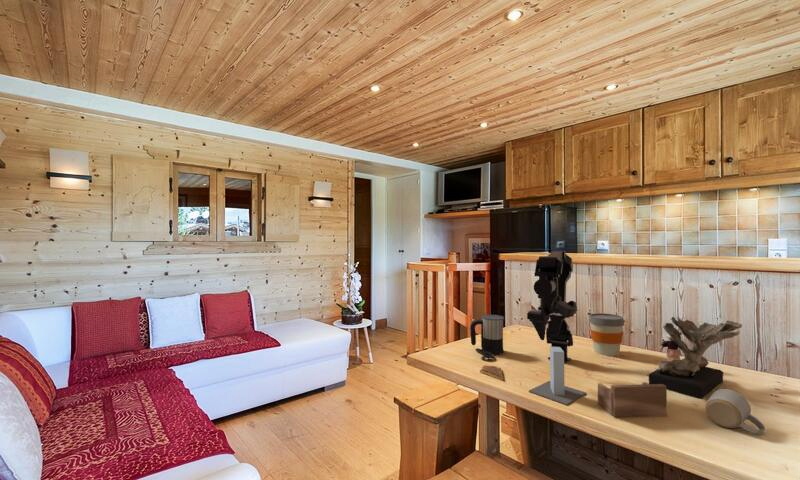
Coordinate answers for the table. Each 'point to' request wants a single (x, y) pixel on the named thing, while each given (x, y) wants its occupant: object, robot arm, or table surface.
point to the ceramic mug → (732, 411)
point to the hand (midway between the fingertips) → (549, 337)
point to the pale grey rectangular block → (557, 370)
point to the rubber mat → (565, 399)
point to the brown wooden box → (634, 400)
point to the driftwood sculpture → (693, 358)
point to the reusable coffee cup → (606, 333)
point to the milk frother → (489, 335)
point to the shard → (492, 371)
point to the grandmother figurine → (671, 349)
